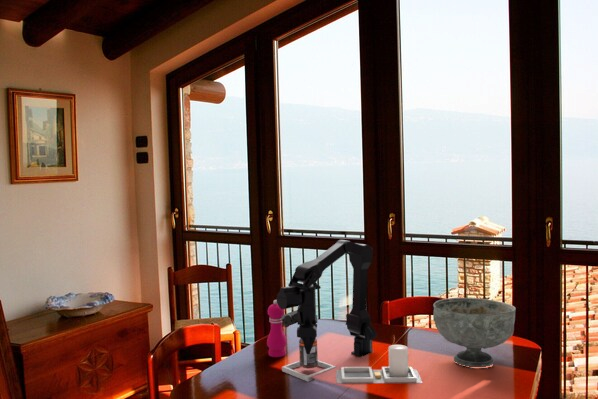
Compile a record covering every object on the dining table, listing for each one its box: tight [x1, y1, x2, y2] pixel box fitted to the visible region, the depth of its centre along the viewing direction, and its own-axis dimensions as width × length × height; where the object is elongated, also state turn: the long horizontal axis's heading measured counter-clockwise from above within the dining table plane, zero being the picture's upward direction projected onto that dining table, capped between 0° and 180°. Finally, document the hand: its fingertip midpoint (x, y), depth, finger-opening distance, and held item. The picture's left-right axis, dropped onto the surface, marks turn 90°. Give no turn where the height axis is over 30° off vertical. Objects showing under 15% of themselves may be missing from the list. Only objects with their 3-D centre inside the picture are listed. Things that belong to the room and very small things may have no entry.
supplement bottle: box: [298, 337, 319, 369], centre depth 176 cm, size 6×6×11 cm
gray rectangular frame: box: [335, 366, 423, 384], centre depth 168 cm, size 26×11×2 cm, turn 87°
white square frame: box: [281, 359, 337, 382], centre depth 177 cm, size 13×13×2 cm
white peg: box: [388, 344, 409, 377], centre depth 167 cm, size 6×6×9 cm
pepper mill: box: [266, 299, 288, 358], centre depth 193 cm, size 7×7×20 cm
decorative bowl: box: [432, 297, 516, 367], centre depth 181 cm, size 26×26×20 cm
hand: (308, 350), depth 176 cm, fingers closed on supplement bottle, 6 cm apart
